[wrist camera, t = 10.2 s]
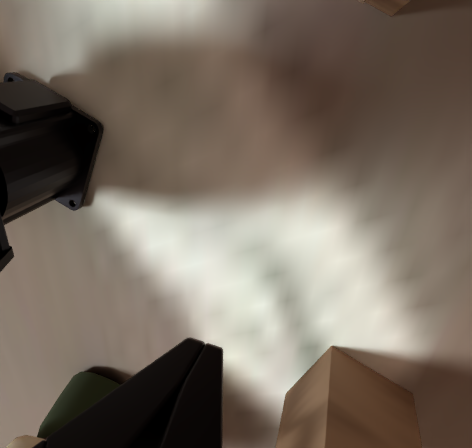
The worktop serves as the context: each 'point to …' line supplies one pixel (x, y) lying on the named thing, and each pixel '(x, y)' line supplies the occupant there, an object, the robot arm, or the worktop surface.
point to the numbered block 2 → (386, 5)
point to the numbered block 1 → (347, 408)
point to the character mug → (69, 405)
